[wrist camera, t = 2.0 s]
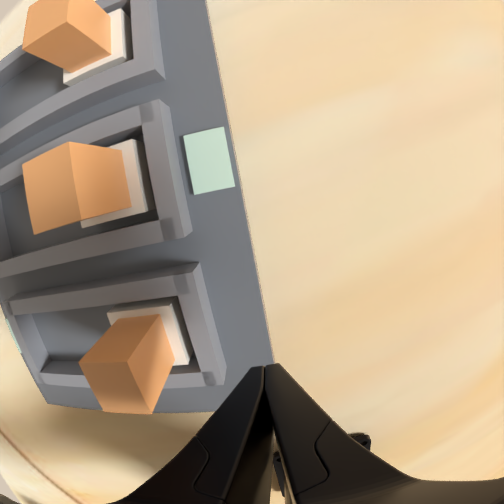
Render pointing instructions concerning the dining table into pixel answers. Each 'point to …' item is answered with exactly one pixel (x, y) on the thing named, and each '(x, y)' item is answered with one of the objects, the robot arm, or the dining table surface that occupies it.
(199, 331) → the switch board
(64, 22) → the tab
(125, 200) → the tab
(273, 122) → the dining table surface
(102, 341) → the orange and white block
